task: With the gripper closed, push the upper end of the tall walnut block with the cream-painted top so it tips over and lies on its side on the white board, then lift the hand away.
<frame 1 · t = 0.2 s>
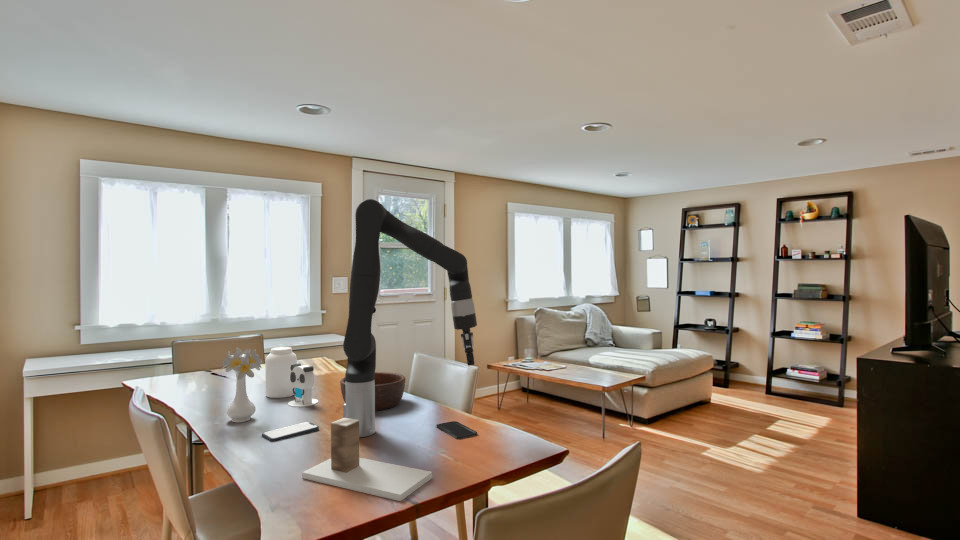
hand: (471, 362, 163), 22 cm above the table, tool pointing down, fingers open, 8 cm apart
wooden bowl: (373, 405, 196), on the table
flower vase: (243, 420, 176), on the table
white jar: (281, 395, 212), on the table
white board: (367, 478, 127), on the table
phone: (456, 432, 163), on the table
walnut block: (345, 467, 130), point 1 cm above the table, touching white board
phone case: (290, 434, 162), on the table
panda figurine: (302, 403, 199), on the table
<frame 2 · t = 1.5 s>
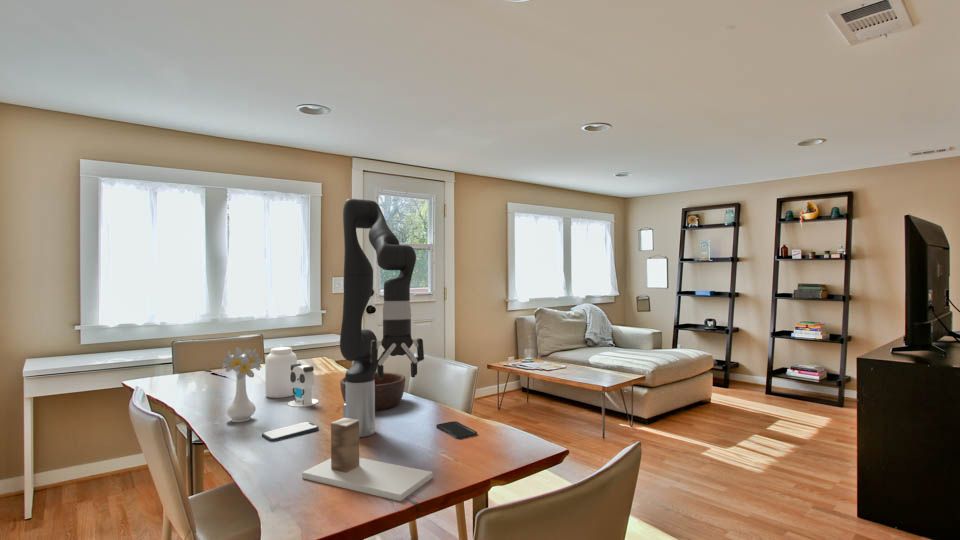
hand: (397, 378, 135), 24 cm above the table, tool pointing down, fingers open, 8 cm apart
nothing on the table moved.
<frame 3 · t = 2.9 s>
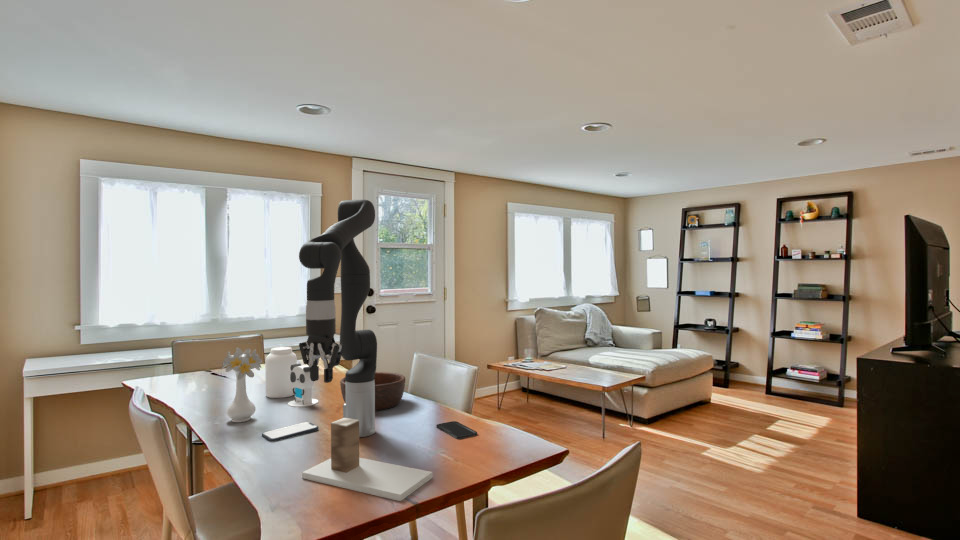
hand: (321, 381, 133), 23 cm above the table, tool pointing down, fingers open, 4 cm apart
nothing on the table moved.
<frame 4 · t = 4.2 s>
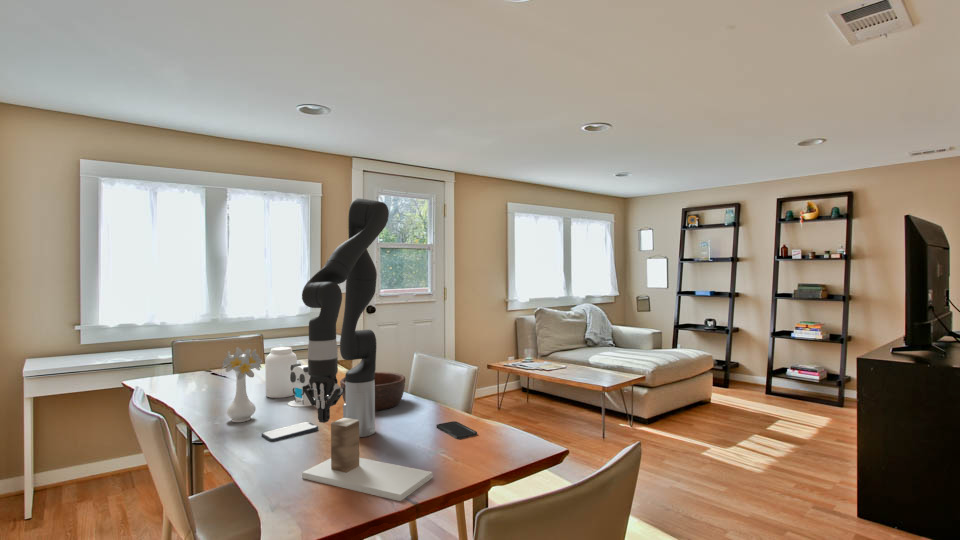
hand: (323, 421, 133), 12 cm above the table, tool pointing down, fingers closed
nothing on the table moved.
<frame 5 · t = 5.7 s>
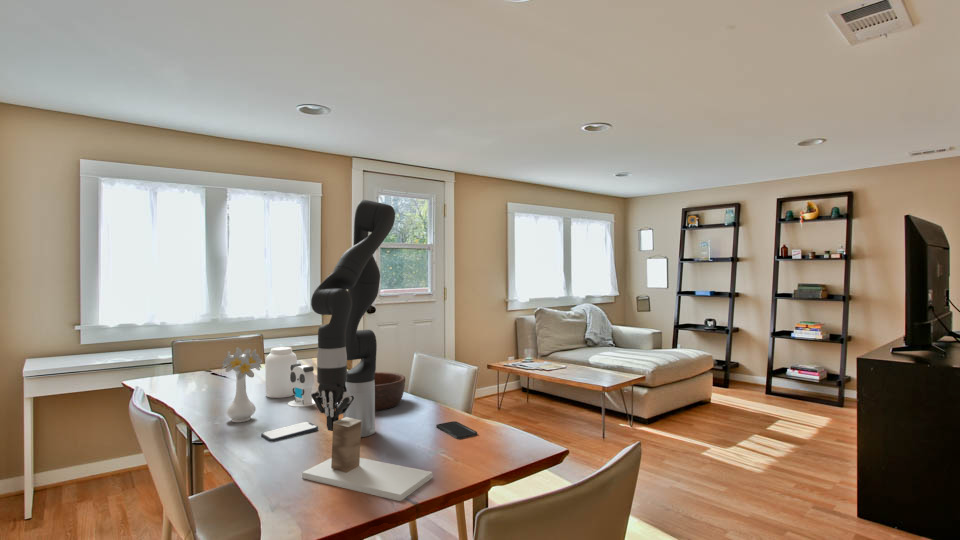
hand: (332, 429, 131), 11 cm above the table, tool pointing down, fingers closed
walnut block: (345, 467, 130), point 2 cm above the table, touching white board, gripper
everything else where it was.
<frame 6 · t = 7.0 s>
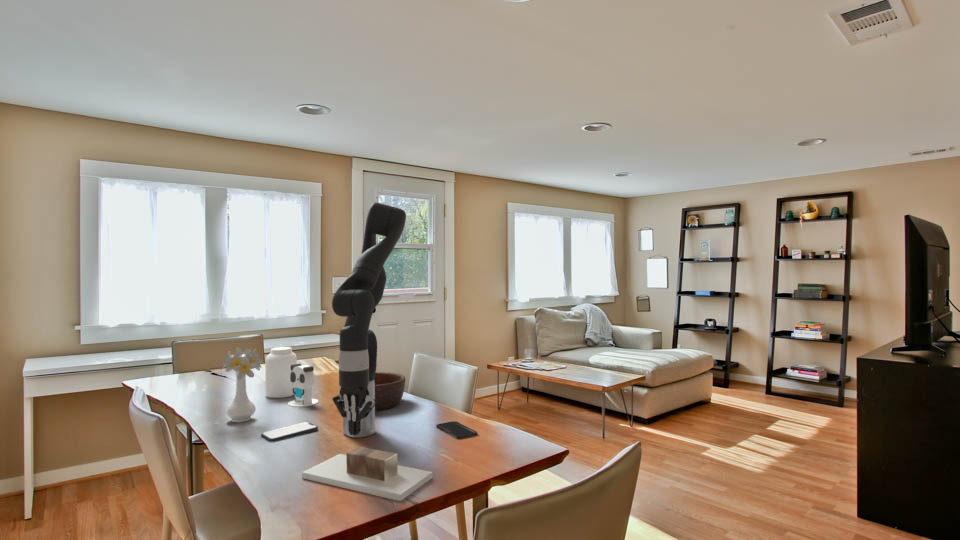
hand: (354, 434, 128), 11 cm above the table, tool pointing down, fingers closed
walnut block: (353, 459, 129), point 4 cm above the table, tilted 90°, touching white board
everything else where it was.
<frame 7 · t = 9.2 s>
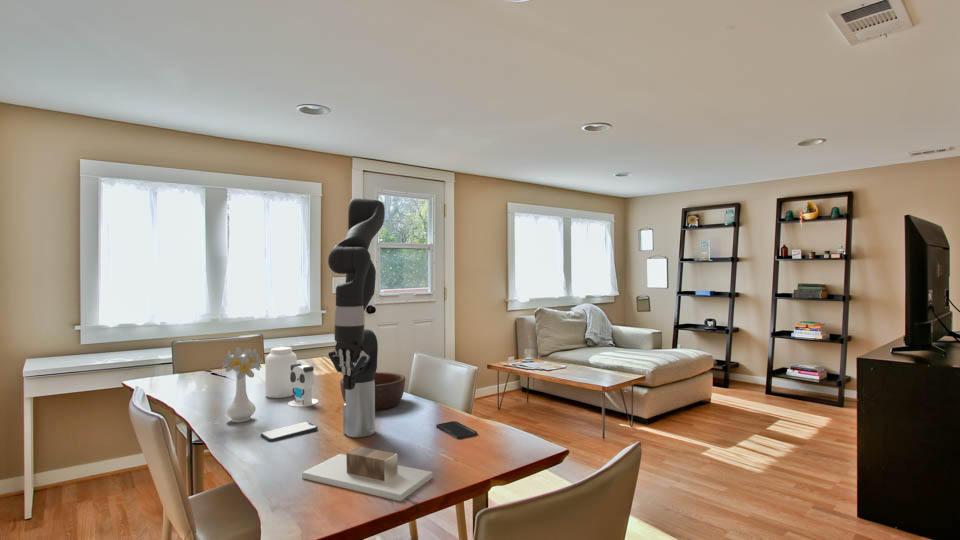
hand: (349, 389, 131), 22 cm above the table, tool pointing down, fingers closed
nothing on the table moved.
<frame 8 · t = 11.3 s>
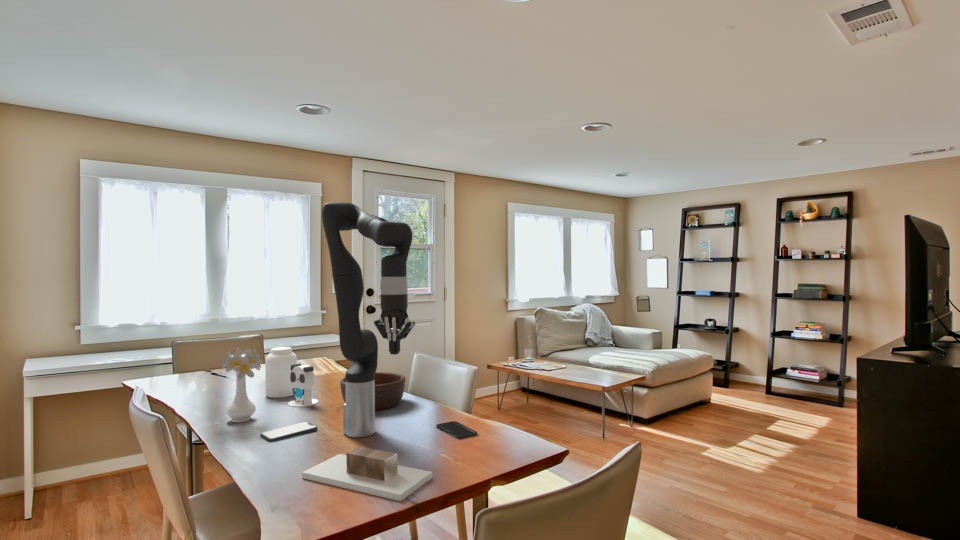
hand: (394, 354, 141), 29 cm above the table, tool pointing down, fingers closed
nothing on the table moved.
at the end: walnut block tilted 90°; walnut block inside the target area (0.5 cm from its centre), point 4.0 cm above the table; walnut block touching white board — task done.
